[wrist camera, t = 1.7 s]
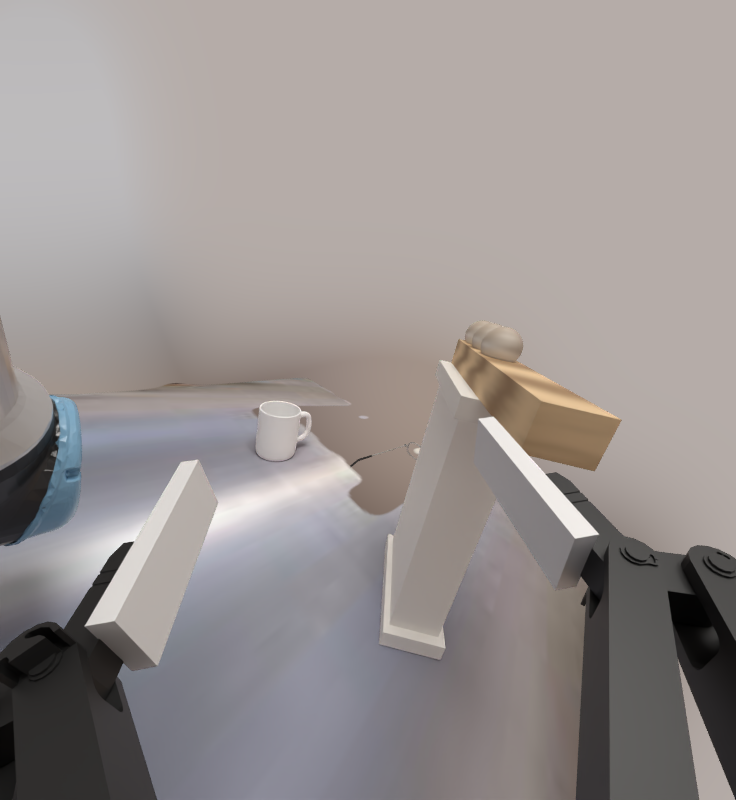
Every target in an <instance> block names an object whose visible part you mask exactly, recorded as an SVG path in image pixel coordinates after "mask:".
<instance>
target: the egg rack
mask: <svg viewBox="0 0 736 800" xmlns="http://www.w3.org/2000/svg"><path fill="white" fill-rule="evenodd" d="M522 350H523V341H522V338H521V336H520V334H518V332H517V331H515V330H514V329H512V328H509V327H502V326H501V325H498V324H495V323H490V322H488V321H477V322H475V323H473V324H472V325H471V326H470V327H469V328H468V329H467V331H466V334H465V340H460V339H459V340H458V343H457V346H456V350H455V353H454V356H453V359H452V364H453V365H454V367H455V368H456V369H457V371H458V372H459V373H460V375H461V376H462V377H463V379H464V380H465V381H466V383H467V384H468V385H469V387H470V388H471V389H472V391H473V392H474V393H475V395H476V396H477V397H478V399H479V400H480V401H481V403H482V404H483V405H484V407H485V408H486V409H487V411H488V412H489V413H490V415H491V416H492V417H494V418H495V419H496V420H497V421H498V422H499V423H500V424H501V425H502V426H503V428H504V429H505V430H506V431H507V432H508V433H509V434H510V435H511V437H512V438H513V439H514V440H515V441H516V442H517V443H518V444H519V445H520V447H521V448H522V449H523V450H524V451H525V452H526V453H527V454H528V455H529V456H532V457H537V458H541V459H545V460H550V461H553V462H558V463H562V464H566V465H570V466H574V467H579V468H583V469H587V470H591V471H595V469H596V468H597V466H598V464H599V462H600V460H601V458H602V456H603V454H604V453H605V451H606V449H607V447H608V445H609V443H610V441H611V439H612V437H613V435H614V434H615V432H616V430H617V428H618V426H619V424H620V422H621V419H619V418H617V417H616V416H614V415H612V414H610V413H608V412H607V411H605V410H603V409H601V408H599V407H598V406H596V405H594V404H592V403H591V402H589V401H587V400H585V399H584V398H582V397H580V396H578V395H576V394H574V393H573V392H571V391H569V390H567V389H566V388H564V387H562V386H560V385H558V384H557V383H555V382H553V381H551V380H550V379H548V378H546V377H544V376H542V375H541V374H539V373H537V372H535V371H534V370H532V369H530V368H528V367H527V366H525V365H523V364H521V363H519V362H517V361H516V360H517V359H518V357H519V356H520V355H521V353H522Z"/></svg>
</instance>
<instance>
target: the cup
mask: <svg viewBox="0 0 736 800" xmlns="http://www.w3.org/2000/svg"><path fill="white" fill-rule="evenodd" d="M301 417H306V420H307V425H306V429H305V432H304V433H303V434H302V435H300V436H298V431H299V424H300V418H301ZM310 429H311V416H310V414H309V413H308V412H301V409H300V408H299V407H298V406H296V405H294V404H292V403H288V402H283V401H269V402H265V403H263V404H261V405H260V407H259V417H258V427H257V436H256V447H255V448H256V453H257V454H258V456H260V457H261V458H263V459H265V460H268V461H285V460H288V459H290V458H291V457H292V456H293V455H294V453H295V450H296V444H297V442H299V441H302V440H304V439H305V438H306V437H307V436H308V434H309V432H310Z"/></svg>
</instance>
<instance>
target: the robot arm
mask: <svg viewBox="0 0 736 800" xmlns="http://www.w3.org/2000/svg"><path fill="white" fill-rule="evenodd" d="M81 461H82V439H81V426H80V419H79V413H78V409H77V406H76V404H75V403H74V402H73V401H72V400H70V399H68V398H63V397H56V396H53V395H50V396H49V394H48V392H47V391H46V389H45V387H44V386H43V385H42V384H41V383H40V382H39V381H38V380H37V379H35V378H34V377H32V376H31V375H30V374H28V373H26V372H25V371H23V370H21V369H19V368H17V367H14V366H13V365H12V361H11V357H10V353H9V349H8V345H7V341H6V337H5V333H4V329H3V325H2V321H1V318H0V546H2V545H4V546H11V545H16V544H19V543H20V542H22V541H24V540H25V539H27V538H31V537H34V536H37V535H41V534H44V533H47V532H51V531H54V530H57V529H59V528H61V527H63V526H64V525H65V524H67V523H68V522H69V521H70V520H71V519H72V517H73V516H74V514H75V512H76V510H77V507H78V503H79V497H80V490H81V472H80V468H81ZM473 463H474V464H475V466H476V467H477V469H478V470H479V472H480V473H481V475H482V477H483V478H484V480H485V481H486V483H487V484H488V486H489V488H490V489H491V491H492V492H493V494H494V495H495V497H496V498H497V500H498V502H499V503H500V505H501V506H502V508H503V509H504V511H505V513H506V514H507V516H508V517H509V519H510V520H511V522H512V524H513V525H514V527H515V528H516V530H517V531H518V533H519V534H520V536H521V538H522V539H523V541H524V542H525V544H526V545H527V547H528V549H529V550H530V552H531V553H532V555H533V556H534V558H535V559H536V561H537V563H538V564H539V566H540V567H541V569H542V570H543V572H544V574H545V575H546V577H547V578H548V580H549V581H550V583H551V584H552V586H553V588H554V589H555V590H560V589H565V588H571V587H576V586H577V584H578V581H579V579H580V577H582V578H583V579H584V581H585V582H586V584H587V585H588V586H589V587H588V589H587V591H586V593H585V595H584V597H583V599H582V602H581V605H583V606H585V604H586V612H585V632H584V651H583V670H582V690H581V709H580V729H579V748H578V767H577V787H576V800H699V795H698V789H697V782H696V776H695V769H694V763H693V756H692V750H691V744H690V736H689V730H688V723H687V717H686V710H685V704H684V697H683V691H682V684H681V678H680V671H679V664H678V660H679V662H680V665H681V667H682V669H683V672H684V675H685V677H686V680H687V682H688V684H689V686H690V689H691V692H692V694H693V696H694V699H695V702H696V704H697V706H698V709H699V711H700V714H701V716H702V719H703V721H704V724H705V726H706V729H707V731H708V733H709V736H710V738H711V741H712V743H713V746H714V748H715V751H716V753H717V755H718V758H719V761H720V763H721V765H722V768H723V770H724V773H725V775H726V778H727V780H728V782H729V785H730V787H731V790H732V792H733V795H734V797H735V800H736V559H735V558H734V557H732V556H731V555H729V554H727V553H725V552H723V551H721V550H719V549H715V548H712V547H709V546H699V545H697V546H694V547H691V548H690V550H689V551H688V553H687V554H686V555H681V554H673V553H665V552H657V551H654V550H653V549H651V548H650V547H649V546H647V545H646V544H644V543H642V542H640V541H638V540H636V539H634V538H628V537H625V536H623V535H622V534H621V533H620V532H619V531H618V530H617V529H616V528H615V527H614V526H613V525H612V524H611V523H610V522H609V521H608V520H607V519H606V517H605V516H604V515H603V514H601V512H600V511H599V510H598V509H597V508H596V507H595V506H594V505H593V504H592V503H591V502H589V501H588V499H587V498H586V497H585V496H584V495H583V494H582V493H580V491H579V490H578V489H577V488H576V487H575V486H574V484H573V483H572V482H571V481H569V480H568V479H566V478H565V477H563V476H561V475H560V474H558V473H556V472H555V473H549V474H545V473H544V472H543V471H542V470H541V469H540V468H539V467H538V466H537V464H536V463H535V462H534V461H533V460H532V459H531V458H530V457H529V455H528V454H527V453H526V452H525V451H524V450H523V449H522V448H521V447H520V445H519V444H518V443H517V442H516V441H515V440H514V439H513V438H512V437H511V435H510V434H509V433H508V432H507V431H506V430H505V429H504V428H503V426H502V425H501V424H500V423H499V422H498V421H497V420H496V419H495V418H494V417H487V418H480V419H478V427H477V435H476V444H475V453H474V462H473ZM217 504H218V501H217V499H216V497H215V494H214V492H213V490H212V488H211V486H210V484H209V481H208V479H207V477H206V475H205V473H204V470H203V468H202V466H201V464H200V462H199V460H193V461H186V462H181V463H180V465H179V467H178V468H177V470H176V472H175V473H174V475H173V477H172V478H171V480H170V482H169V484H168V485H167V487H166V489H165V490H164V492H163V494H162V495H161V497H160V499H159V501H158V502H157V504H156V506H155V507H154V509H153V511H152V513H151V514H150V516H149V518H148V519H147V521H146V523H145V524H144V526H143V528H142V530H141V531H140V533H139V535H138V536H137V538H136V540H135V541H134V542H128V543H123V544H122V545H121V546H120V547H119V548H118V549H117V550H116V551H115V552H114V553H113V554H112V555H111V556H110V557H109V559H108V560H107V562H106V564H105V565H104V567H103V568H102V570H101V571H100V575H98V576H97V578H96V579H95V581H94V583H93V584H92V585H93V586H92V587H91V588H90V589H89V590H88V592H87V594H86V595H85V597H84V598H83V600H82V601H81V603H80V605H79V606H78V608H77V609H76V611H75V612H74V614H73V616H72V617H71V619H70V620H69V622H68V623H67V625H66V627H65V628H64V630H63V629H62V628H61V627H60V626H59V625H58V624H57V623H54V622H45V623H41V624H38V625H36V626H34V627H32V628H30V629H28V630H26V631H24V632H23V633H22V634H21V635H19V636H18V637H17V638H15V639H14V640H13V641H12V642H11V643H10V644H9V645H8V646H7V647H6V648H5V649H4V650H3V651H2V652H1V653H0V800H157V798H156V795H155V792H154V788H153V785H152V782H151V778H150V775H149V772H148V768H147V765H146V762H145V759H144V755H143V752H142V749H141V745H140V742H139V739H138V735H137V732H136V729H135V726H134V722H133V719H132V716H131V712H130V709H129V706H128V702H127V699H126V696H125V693H124V689H123V686H122V683H121V681H120V679H119V678H118V677H117V675H118V673H119V671H120V669H121V666H122V664H123V663H124V664H125V665H126V666H127V667H128V668H129V669H130V670H132V671H135V670H140V669H145V668H151V667H156V666H158V664H159V661H160V658H161V656H162V653H163V650H164V648H165V645H166V642H167V640H168V637H169V634H170V631H171V629H172V626H173V623H174V621H175V618H176V615H177V612H178V610H179V607H180V604H181V602H182V599H183V596H184V594H185V591H186V588H187V585H188V583H189V580H190V577H191V575H192V572H193V569H194V566H195V564H196V561H197V558H198V556H199V553H200V550H201V548H202V545H203V542H204V539H205V537H206V534H207V531H208V529H209V526H210V523H211V521H212V518H213V515H214V512H215V510H216V507H217ZM677 657H678V658H677Z"/></svg>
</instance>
